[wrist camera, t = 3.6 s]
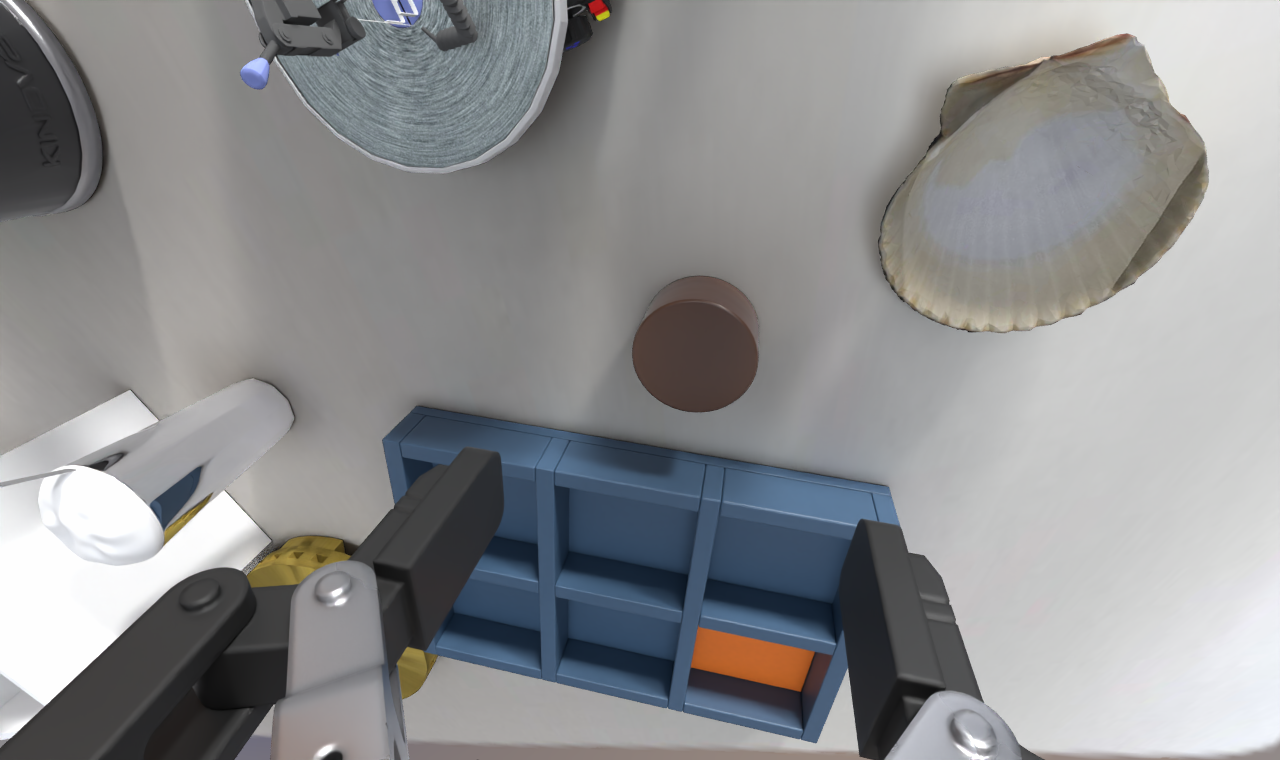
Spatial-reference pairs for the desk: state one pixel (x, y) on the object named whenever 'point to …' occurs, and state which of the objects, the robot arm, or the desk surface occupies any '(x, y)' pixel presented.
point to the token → (697, 345)
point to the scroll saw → (421, 70)
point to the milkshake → (160, 474)
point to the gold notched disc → (311, 555)
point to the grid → (652, 571)
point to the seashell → (1043, 191)
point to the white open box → (86, 566)
